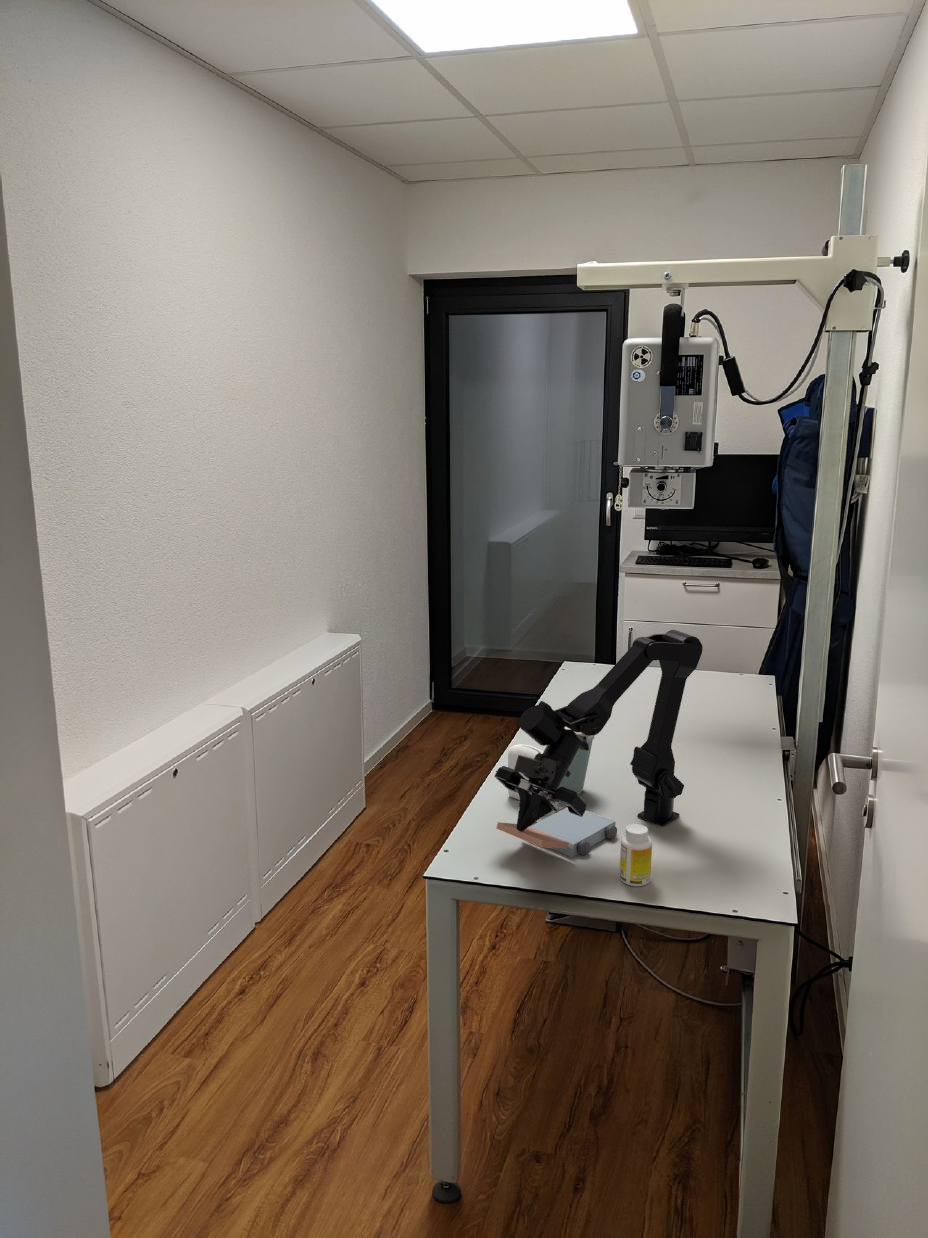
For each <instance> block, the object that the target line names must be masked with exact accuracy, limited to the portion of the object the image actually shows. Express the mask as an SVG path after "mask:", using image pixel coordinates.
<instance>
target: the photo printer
mask: <svg viewBox="0 0 928 1238" xmlns="http://www.w3.org/2000/svg"><path fill="white" fill-rule="evenodd" d="M543 752H544V750H542V749H539V748H538V747H535V746H533V745H530V744H522V743H521V744H514V745H512V746H510V748H509V750H508V754H507V763H508V764H507V767H509V768H511V769H514V768H515V765H516V761H517V758H518V755H521V756H525V757H529V758H533V759H534V758H535V756H536V754H538V753H541V754H543ZM519 773H520V774H521V775H522V776H523V777H524V778H525V779H526V780H529V778H527V777H525V776H524V775H523V773H521V772H519ZM533 788H535V787H533ZM535 789H537V788H535ZM507 790H508V791H507V792H508V793H507V794H508V796H509V797H511V798H513V799H515V800H518V801H520V797H519V793H517V792H514V791H511V790H509V789H507ZM544 792H545V791H544ZM546 793H548V792H546Z"/></svg>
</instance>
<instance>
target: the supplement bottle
mask: <svg viewBox="0 0 928 1238" xmlns="http://www.w3.org/2000/svg"><path fill="white" fill-rule="evenodd" d="M652 849H653V840H652V839H651V837H650V836H649V829H648V827H647V826H646V825H644V824H640V823H631V824H628V825H627V826H626V827H625V833H624V834H623V835H622V836H621V839H620V855H619V856H620V859H619V879H620V880H621V882H622V883H623V884H625V885H628V886H630V887H643V886H646V885H647V884H649V883H650V881H651V875H652V855H653V850H652Z"/></svg>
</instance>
